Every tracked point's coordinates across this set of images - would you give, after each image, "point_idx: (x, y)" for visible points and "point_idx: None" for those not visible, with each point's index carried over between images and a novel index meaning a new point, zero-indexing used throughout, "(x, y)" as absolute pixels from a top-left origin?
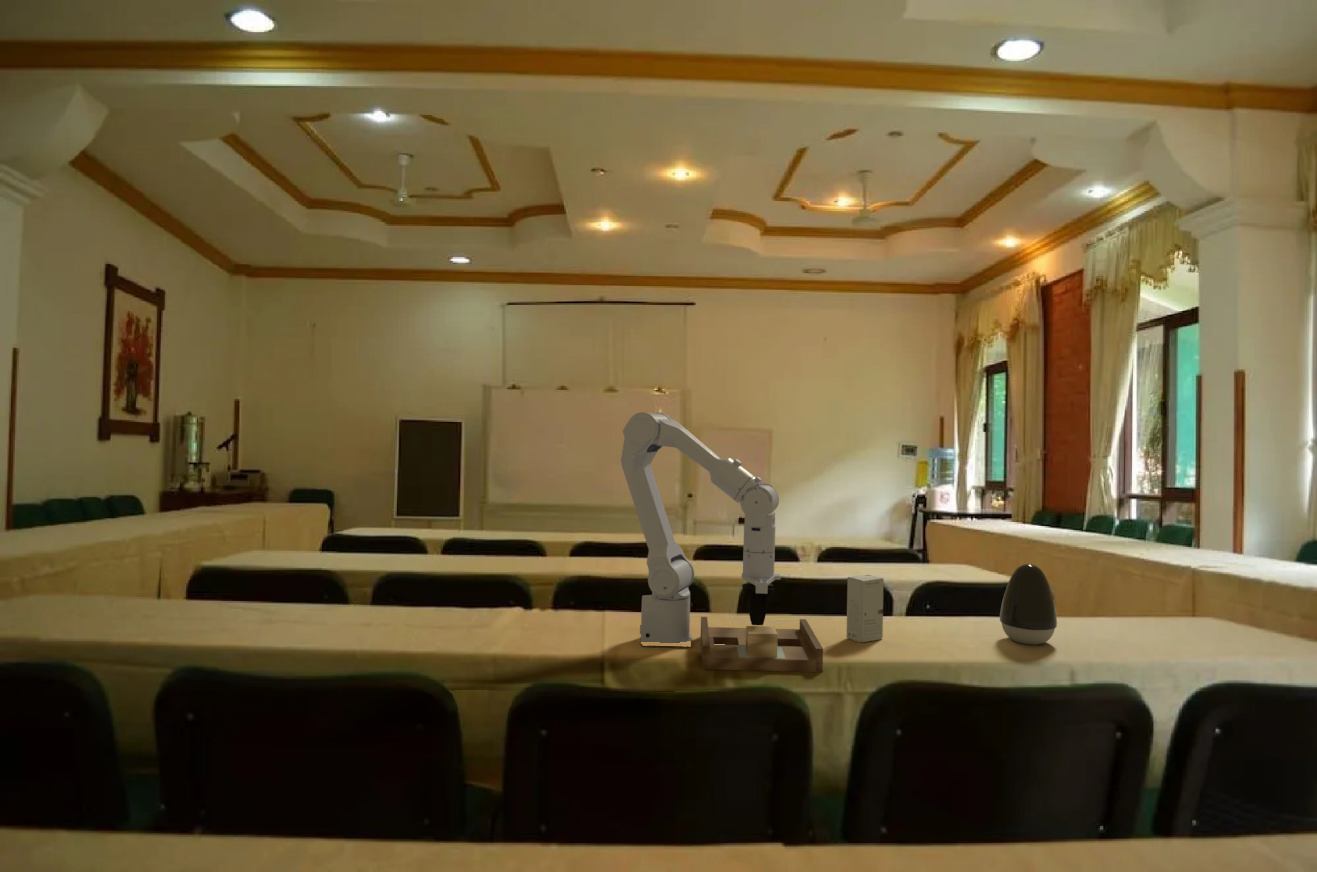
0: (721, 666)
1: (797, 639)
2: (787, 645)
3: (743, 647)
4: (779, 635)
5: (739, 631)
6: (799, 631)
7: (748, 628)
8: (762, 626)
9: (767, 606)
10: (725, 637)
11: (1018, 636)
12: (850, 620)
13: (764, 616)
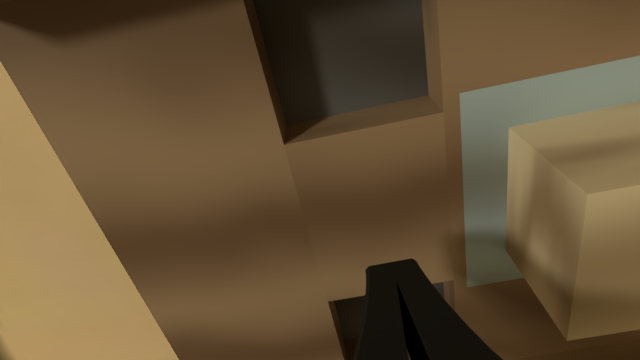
0: None
1: (245, 3)
2: (267, 61)
3: (492, 260)
4: (205, 127)
5: (218, 307)
6: (34, 5)
7: (630, 324)
8: (581, 264)
9: (492, 354)
10: (337, 337)
11: None
12: None
13: (439, 296)
